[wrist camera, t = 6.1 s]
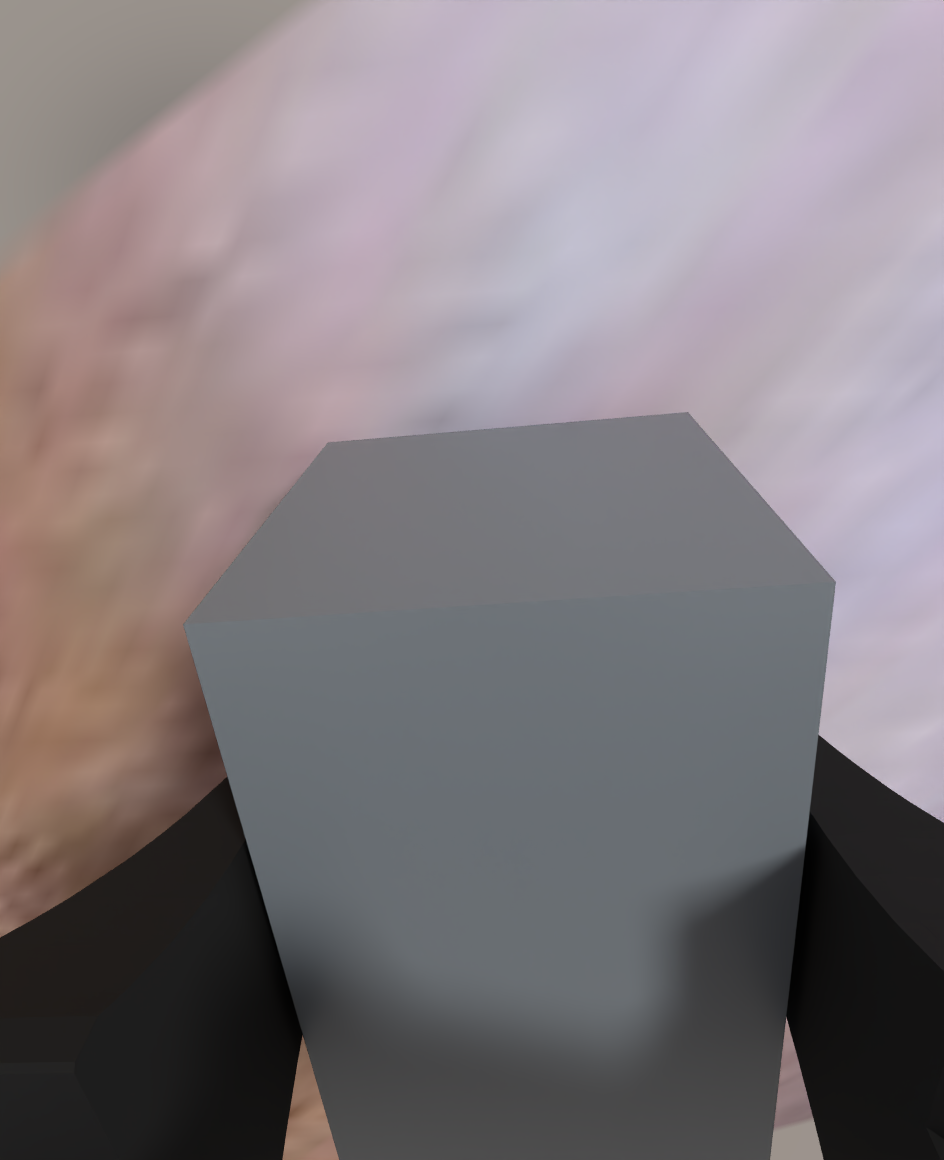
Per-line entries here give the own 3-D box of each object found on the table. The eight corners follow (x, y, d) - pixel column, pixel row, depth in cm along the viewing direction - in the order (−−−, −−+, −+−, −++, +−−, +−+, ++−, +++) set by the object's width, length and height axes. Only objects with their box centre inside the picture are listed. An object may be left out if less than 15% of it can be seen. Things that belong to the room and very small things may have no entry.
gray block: (687, 412, 13) (835, 581, 7) (679, 832, 16) (768, 1167, 11) (327, 442, 13) (182, 624, 7) (400, 843, 17) (342, 1170, 11)
